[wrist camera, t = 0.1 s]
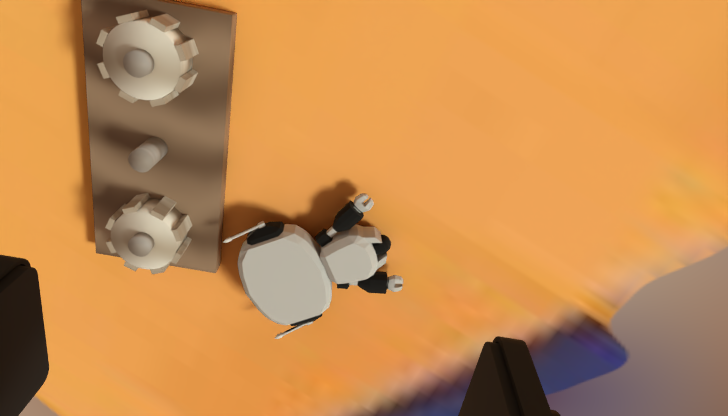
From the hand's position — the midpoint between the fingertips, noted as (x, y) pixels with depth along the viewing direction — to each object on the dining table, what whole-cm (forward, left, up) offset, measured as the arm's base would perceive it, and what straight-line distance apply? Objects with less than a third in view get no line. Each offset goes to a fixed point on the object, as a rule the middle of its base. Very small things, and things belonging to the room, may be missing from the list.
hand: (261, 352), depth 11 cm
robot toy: (+20, 0, -37) cm, 42 cm away
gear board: (+11, -16, -37) cm, 41 cm away
